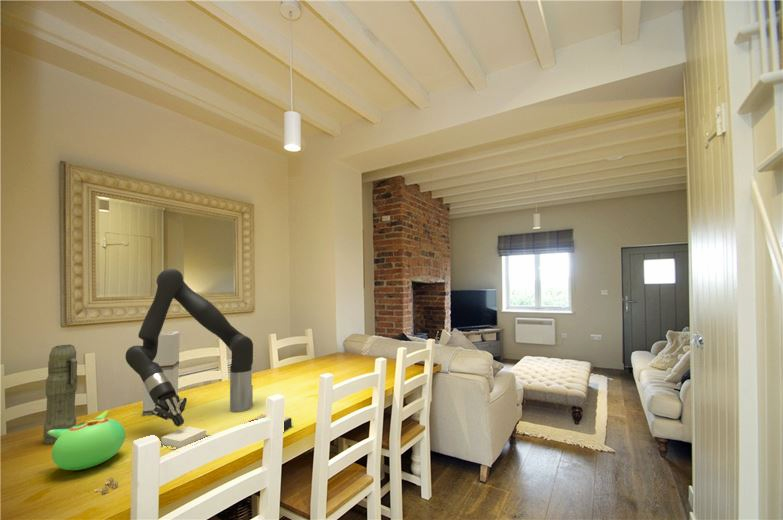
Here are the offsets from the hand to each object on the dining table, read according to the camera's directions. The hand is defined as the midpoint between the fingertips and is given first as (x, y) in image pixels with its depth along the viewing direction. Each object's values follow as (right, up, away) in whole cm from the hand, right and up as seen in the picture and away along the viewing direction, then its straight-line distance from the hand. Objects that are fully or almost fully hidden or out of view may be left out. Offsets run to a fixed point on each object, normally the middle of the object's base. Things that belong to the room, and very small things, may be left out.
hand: (180, 424), depth 129 cm
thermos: (-48, -7, +3) cm, 49 cm away
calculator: (+29, -6, +8) cm, 31 cm away
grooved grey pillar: (-29, -9, +33) cm, 45 cm away
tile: (-3, -4, +1) cm, 5 cm away
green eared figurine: (-20, -5, -16) cm, 26 cm away
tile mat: (0, -6, 0) cm, 6 cm away
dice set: (-3, -5, -30) cm, 30 cm away
